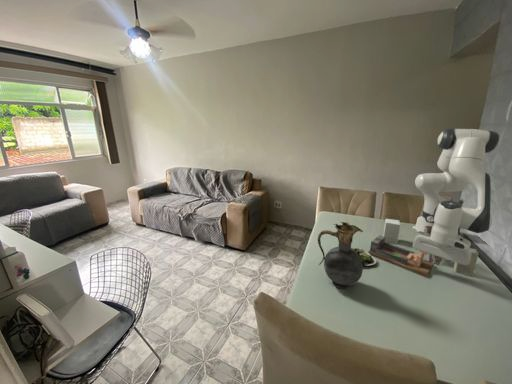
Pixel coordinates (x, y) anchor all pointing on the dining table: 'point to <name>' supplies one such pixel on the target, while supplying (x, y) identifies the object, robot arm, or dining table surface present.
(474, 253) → the skincare box
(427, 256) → the coffee box
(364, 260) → the salad plate
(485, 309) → the dining table surface
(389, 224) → the supplement box
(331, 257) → the pitcher
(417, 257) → the block
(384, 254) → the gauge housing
